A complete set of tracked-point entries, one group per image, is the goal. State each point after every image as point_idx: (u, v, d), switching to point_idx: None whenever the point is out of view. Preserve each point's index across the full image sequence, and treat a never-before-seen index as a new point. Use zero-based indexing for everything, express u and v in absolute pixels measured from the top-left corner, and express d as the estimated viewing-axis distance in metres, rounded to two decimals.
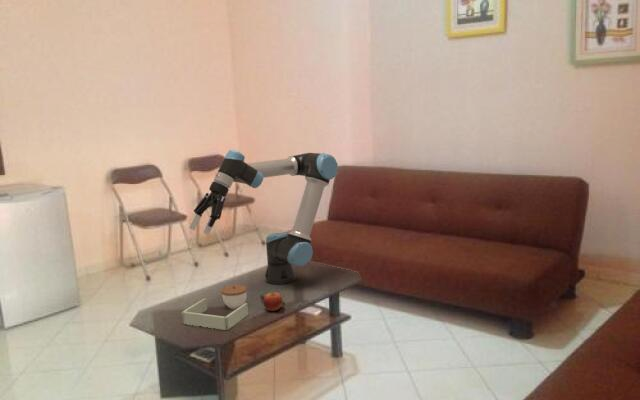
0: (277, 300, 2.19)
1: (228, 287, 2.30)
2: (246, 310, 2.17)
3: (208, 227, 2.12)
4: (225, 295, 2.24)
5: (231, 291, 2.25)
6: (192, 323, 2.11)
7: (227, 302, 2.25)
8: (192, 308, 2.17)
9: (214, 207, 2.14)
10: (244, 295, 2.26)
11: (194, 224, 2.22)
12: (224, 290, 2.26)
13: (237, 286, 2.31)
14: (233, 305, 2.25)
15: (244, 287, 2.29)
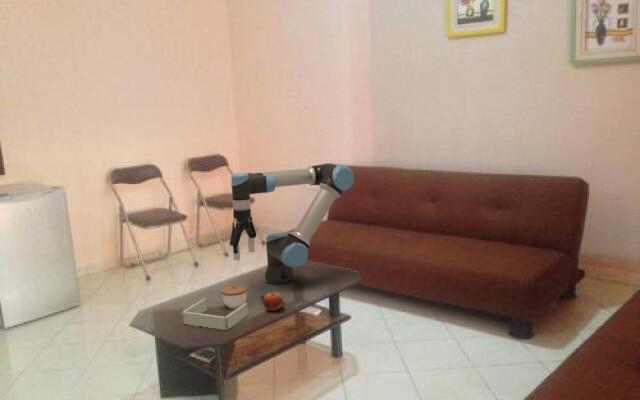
0: (277, 300, 2.19)
1: (228, 287, 2.30)
2: (246, 310, 2.17)
3: (236, 254, 2.29)
4: (225, 295, 2.24)
5: (231, 291, 2.25)
6: (192, 323, 2.11)
7: (227, 302, 2.25)
8: (192, 308, 2.17)
9: None
10: (244, 295, 2.26)
11: (251, 247, 2.42)
12: (224, 290, 2.26)
13: (237, 286, 2.31)
14: (233, 305, 2.25)
15: (244, 287, 2.29)
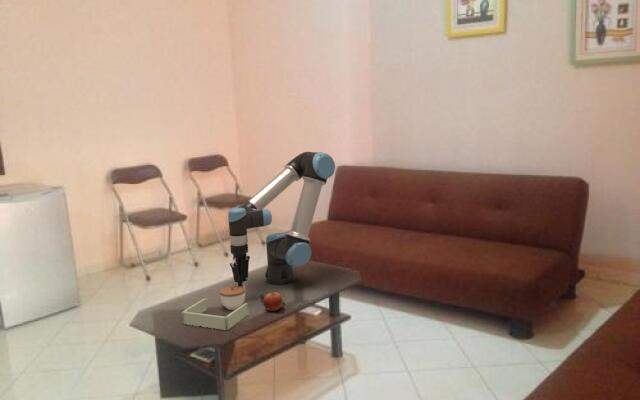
0: (277, 300, 2.19)
1: (226, 288, 2.29)
2: (246, 310, 2.17)
3: None
4: (223, 296, 2.23)
5: (230, 292, 2.24)
6: (192, 323, 2.11)
7: (225, 303, 2.23)
8: (192, 308, 2.17)
9: None
10: (242, 296, 2.25)
11: None
12: (222, 291, 2.25)
13: (235, 287, 2.30)
14: (231, 306, 2.24)
15: (242, 288, 2.28)
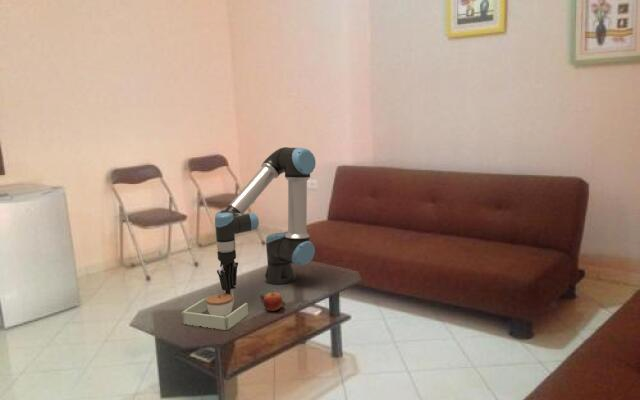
0: (276, 300, 2.19)
1: (213, 296, 2.19)
2: (246, 310, 2.17)
3: None
4: (210, 305, 2.14)
5: (217, 300, 2.15)
6: (192, 323, 2.11)
7: (212, 312, 2.14)
8: (192, 308, 2.17)
9: None
10: (230, 304, 2.16)
11: None
12: (209, 299, 2.16)
13: (222, 295, 2.21)
14: (218, 315, 2.14)
15: (230, 296, 2.19)
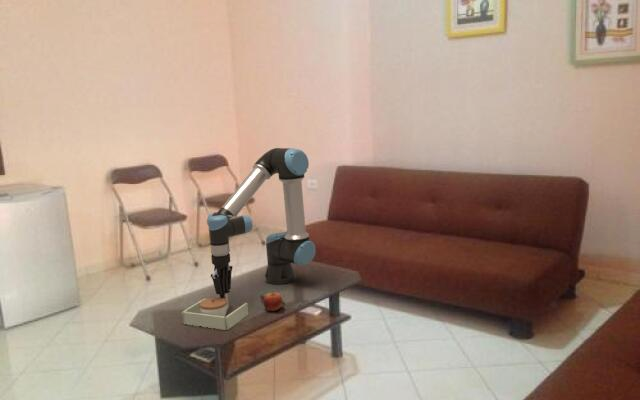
0: (276, 300, 2.19)
1: (207, 300, 2.15)
2: (246, 310, 2.17)
3: None
4: (203, 309, 2.09)
5: (210, 304, 2.10)
6: (192, 323, 2.11)
7: None
8: (192, 308, 2.17)
9: None
10: (224, 309, 2.12)
11: None
12: (202, 304, 2.12)
13: (216, 299, 2.16)
14: None
15: (224, 300, 2.15)
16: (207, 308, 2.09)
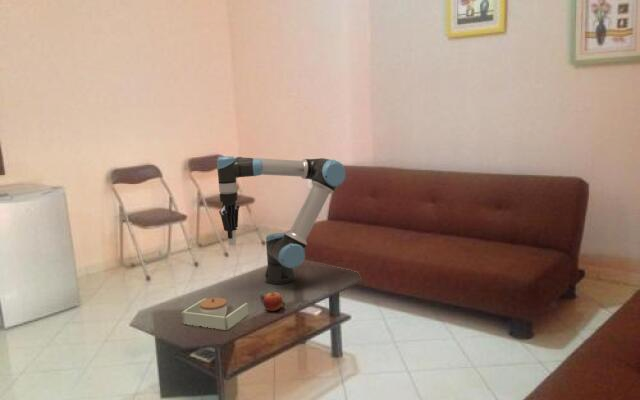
0: (276, 300, 2.19)
1: (207, 300, 2.15)
2: (246, 310, 2.17)
3: (230, 239, 2.34)
4: (203, 309, 2.09)
5: (210, 304, 2.10)
6: (192, 323, 2.11)
7: None
8: (192, 308, 2.17)
9: None
10: (224, 309, 2.12)
11: None
12: (202, 304, 2.12)
13: (216, 299, 2.16)
14: None
15: (224, 300, 2.14)
16: (207, 308, 2.08)
